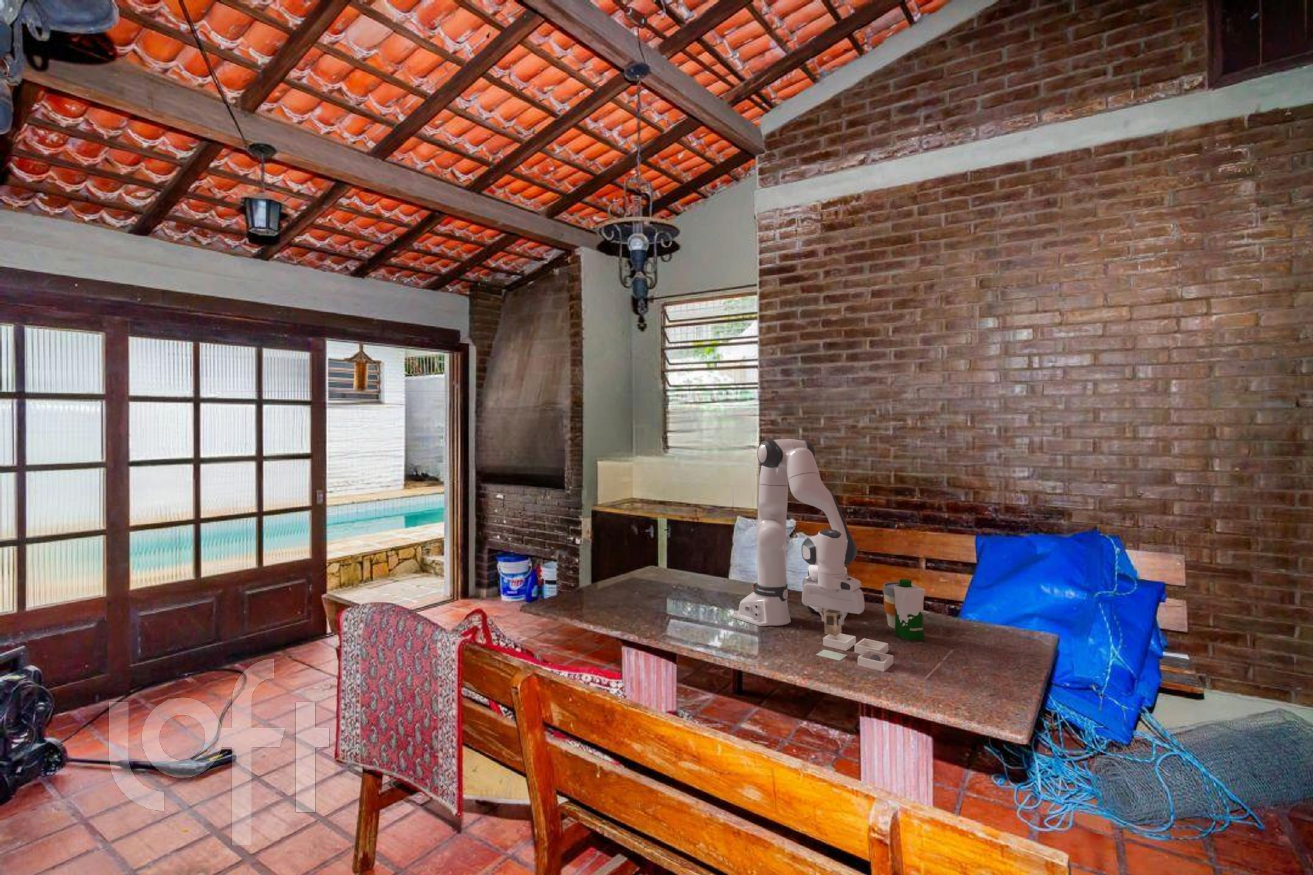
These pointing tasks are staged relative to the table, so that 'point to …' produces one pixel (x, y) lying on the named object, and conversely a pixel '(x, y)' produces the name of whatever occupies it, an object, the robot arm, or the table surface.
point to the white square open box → (877, 665)
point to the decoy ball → (875, 657)
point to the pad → (831, 655)
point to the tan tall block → (832, 622)
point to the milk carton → (909, 611)
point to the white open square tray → (839, 641)
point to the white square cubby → (871, 646)
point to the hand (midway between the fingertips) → (832, 622)
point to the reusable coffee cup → (890, 602)
